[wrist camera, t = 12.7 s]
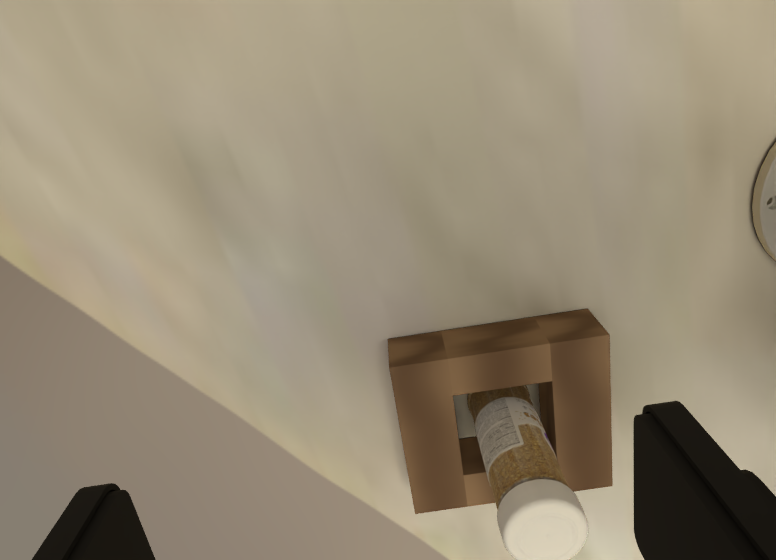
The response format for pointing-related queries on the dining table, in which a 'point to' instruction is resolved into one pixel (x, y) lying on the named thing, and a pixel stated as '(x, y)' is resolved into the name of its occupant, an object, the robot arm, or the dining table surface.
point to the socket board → (496, 371)
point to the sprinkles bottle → (526, 478)
